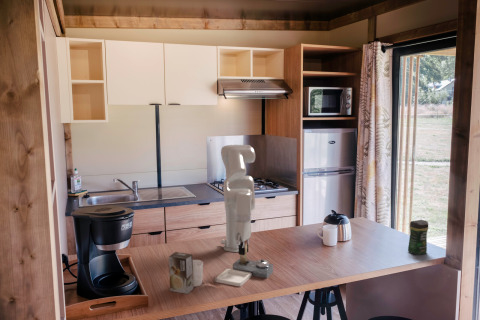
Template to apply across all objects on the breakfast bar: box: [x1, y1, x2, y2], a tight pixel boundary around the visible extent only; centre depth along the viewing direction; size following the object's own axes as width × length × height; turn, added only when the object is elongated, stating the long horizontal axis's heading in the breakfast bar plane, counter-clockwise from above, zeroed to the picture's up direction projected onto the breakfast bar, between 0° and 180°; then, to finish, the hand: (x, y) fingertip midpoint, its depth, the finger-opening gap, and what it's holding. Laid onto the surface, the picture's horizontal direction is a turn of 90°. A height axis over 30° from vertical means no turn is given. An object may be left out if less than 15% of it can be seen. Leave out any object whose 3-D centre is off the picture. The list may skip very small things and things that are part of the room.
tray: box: [214, 268, 253, 288], centre depth 191 cm, size 13×13×2 cm
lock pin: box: [239, 240, 248, 265], centre depth 200 cm, size 3×3×12 cm
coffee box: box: [168, 251, 194, 295], centre depth 180 cm, size 9×6×16 cm
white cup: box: [193, 259, 204, 288], centre depth 187 cm, size 8×8×10 cm
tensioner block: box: [232, 258, 274, 279], centre depth 198 cm, size 18×8×8 cm, turn 65°
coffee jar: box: [407, 219, 429, 255], centre depth 227 cm, size 10×8×19 cm
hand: (243, 252), depth 200 cm, fingers closed on lock pin, 3 cm apart
